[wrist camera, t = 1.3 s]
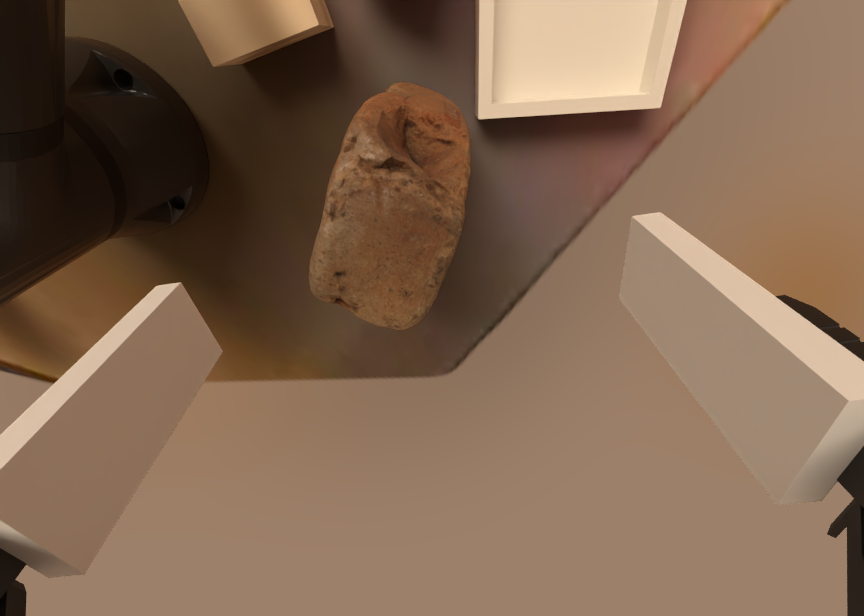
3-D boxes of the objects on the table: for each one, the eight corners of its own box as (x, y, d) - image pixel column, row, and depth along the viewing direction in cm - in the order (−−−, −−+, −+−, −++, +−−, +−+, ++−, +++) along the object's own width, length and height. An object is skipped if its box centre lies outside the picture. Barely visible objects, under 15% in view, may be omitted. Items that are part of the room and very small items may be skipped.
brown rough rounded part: (423, 218, 38) (418, 354, 22) (348, 189, 36) (281, 312, 20) (471, 103, 32) (515, 167, 16) (385, 62, 31) (335, 87, 14)
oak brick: (242, 63, 31) (213, 67, 27) (212, 2, 29) (175, -5, 25) (334, 27, 30) (319, 24, 25) (310, -40, 27) (289, -55, 23)
